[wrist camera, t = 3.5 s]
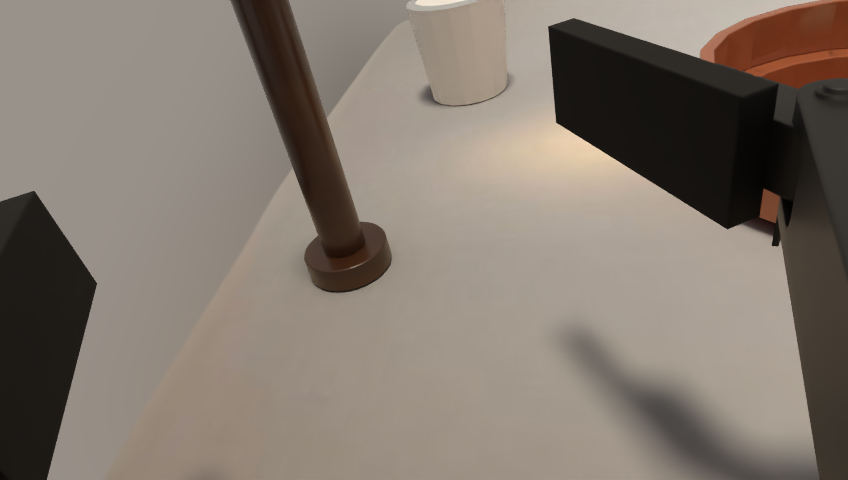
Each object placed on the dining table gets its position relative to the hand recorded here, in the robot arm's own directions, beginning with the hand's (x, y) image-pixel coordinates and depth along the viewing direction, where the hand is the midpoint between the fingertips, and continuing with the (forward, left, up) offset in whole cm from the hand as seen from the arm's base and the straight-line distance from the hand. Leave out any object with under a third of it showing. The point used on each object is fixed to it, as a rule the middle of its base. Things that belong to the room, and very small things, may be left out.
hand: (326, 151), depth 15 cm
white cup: (-15, +25, -10) cm, 31 cm away
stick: (-8, +5, -10) cm, 14 cm away
